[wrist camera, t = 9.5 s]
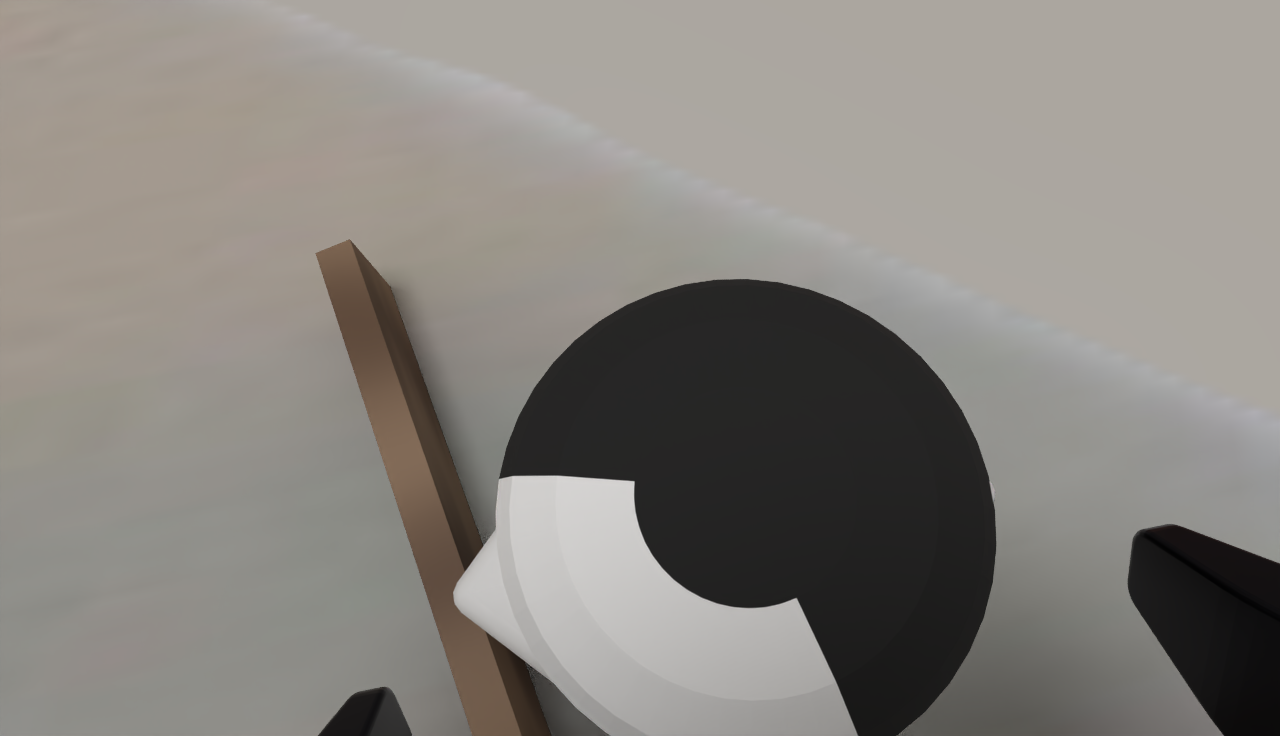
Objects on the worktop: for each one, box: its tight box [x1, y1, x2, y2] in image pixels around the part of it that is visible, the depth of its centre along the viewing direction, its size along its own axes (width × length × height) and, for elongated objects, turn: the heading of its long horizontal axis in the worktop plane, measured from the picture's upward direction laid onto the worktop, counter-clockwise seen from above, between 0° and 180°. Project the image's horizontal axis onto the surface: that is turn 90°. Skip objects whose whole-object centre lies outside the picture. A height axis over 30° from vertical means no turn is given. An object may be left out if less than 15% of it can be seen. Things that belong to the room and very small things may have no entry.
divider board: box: [316, 240, 551, 736], centre depth 19 cm, size 20×1×3 cm, turn 24°
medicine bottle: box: [453, 279, 996, 736], centre depth 14 cm, size 7×7×12 cm
